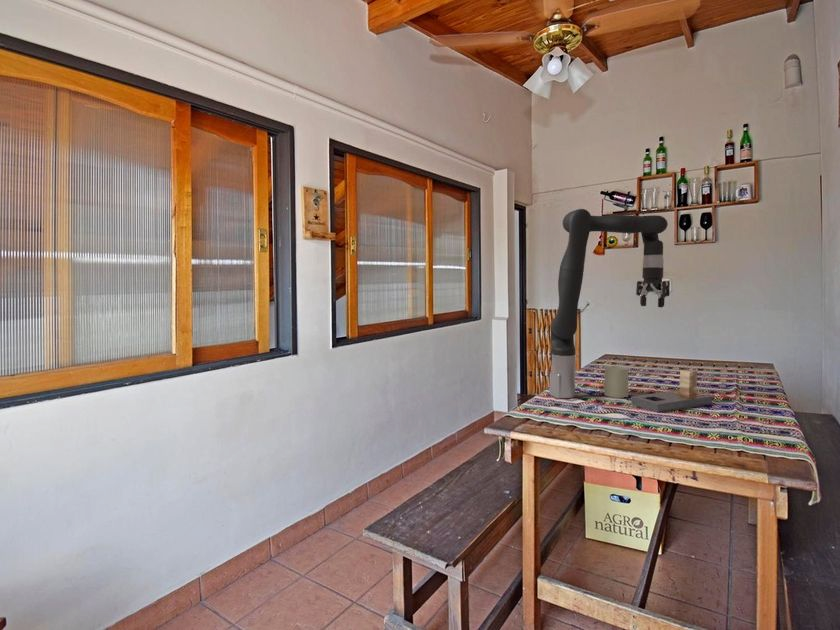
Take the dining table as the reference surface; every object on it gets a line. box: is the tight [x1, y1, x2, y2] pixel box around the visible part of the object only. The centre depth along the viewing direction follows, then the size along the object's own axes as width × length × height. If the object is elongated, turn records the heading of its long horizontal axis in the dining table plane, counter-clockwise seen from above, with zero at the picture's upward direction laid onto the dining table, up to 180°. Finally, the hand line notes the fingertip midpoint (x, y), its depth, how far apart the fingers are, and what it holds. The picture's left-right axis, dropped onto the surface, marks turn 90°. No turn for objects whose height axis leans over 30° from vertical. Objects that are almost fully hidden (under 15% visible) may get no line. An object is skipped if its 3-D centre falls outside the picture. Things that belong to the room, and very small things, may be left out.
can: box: [603, 365, 629, 399], centre depth 188 cm, size 9×9×12 cm
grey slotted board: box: [630, 389, 713, 414], centre depth 174 cm, size 27×12×3 cm, turn 110°
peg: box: [679, 369, 698, 396], centre depth 176 cm, size 4×4×12 cm
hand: (651, 306), depth 187 cm, fingers open, 8 cm apart
